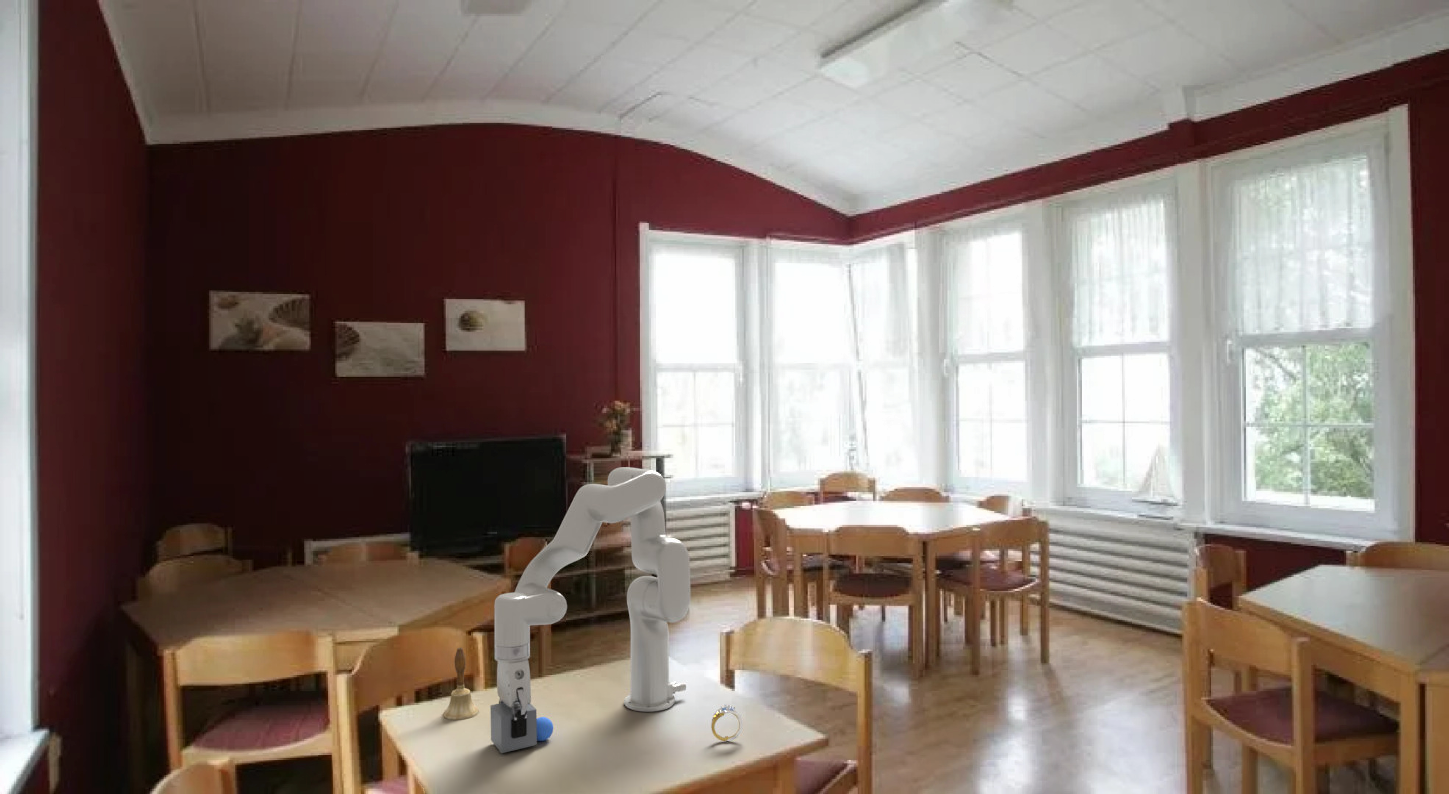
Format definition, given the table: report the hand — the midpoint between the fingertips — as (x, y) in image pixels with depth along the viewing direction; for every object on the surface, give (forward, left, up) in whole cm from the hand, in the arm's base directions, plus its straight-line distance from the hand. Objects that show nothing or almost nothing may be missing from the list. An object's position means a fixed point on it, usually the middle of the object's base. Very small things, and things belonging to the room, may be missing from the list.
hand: (512, 729), depth 189 cm
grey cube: (0, 0, -3) cm, 3 cm away
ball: (-7, 0, -1) cm, 7 cm away
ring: (-41, +23, -4) cm, 47 cm away
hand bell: (+5, -25, -4) cm, 26 cm away
